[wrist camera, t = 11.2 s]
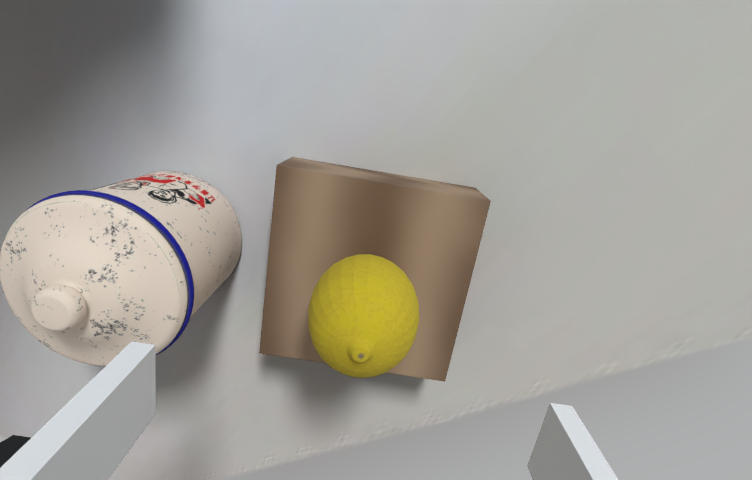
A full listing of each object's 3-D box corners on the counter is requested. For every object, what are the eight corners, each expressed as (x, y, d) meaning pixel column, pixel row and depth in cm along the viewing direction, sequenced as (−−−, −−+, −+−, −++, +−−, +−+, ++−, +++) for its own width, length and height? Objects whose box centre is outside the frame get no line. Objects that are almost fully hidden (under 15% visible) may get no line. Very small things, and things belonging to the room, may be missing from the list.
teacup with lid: (237, 164, 27) (135, 202, 16) (255, 293, 30) (177, 403, 19) (56, 170, 27) (-169, 212, 16) (89, 297, 30) (-84, 407, 19)
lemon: (362, 338, 26) (355, 433, 18) (301, 275, 25) (265, 349, 17) (432, 285, 25) (454, 362, 17) (371, 217, 24) (366, 267, 16)
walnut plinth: (275, 322, 30) (259, 352, 27) (292, 157, 27) (276, 165, 23) (437, 347, 31) (444, 381, 27) (475, 187, 27) (490, 200, 23)
